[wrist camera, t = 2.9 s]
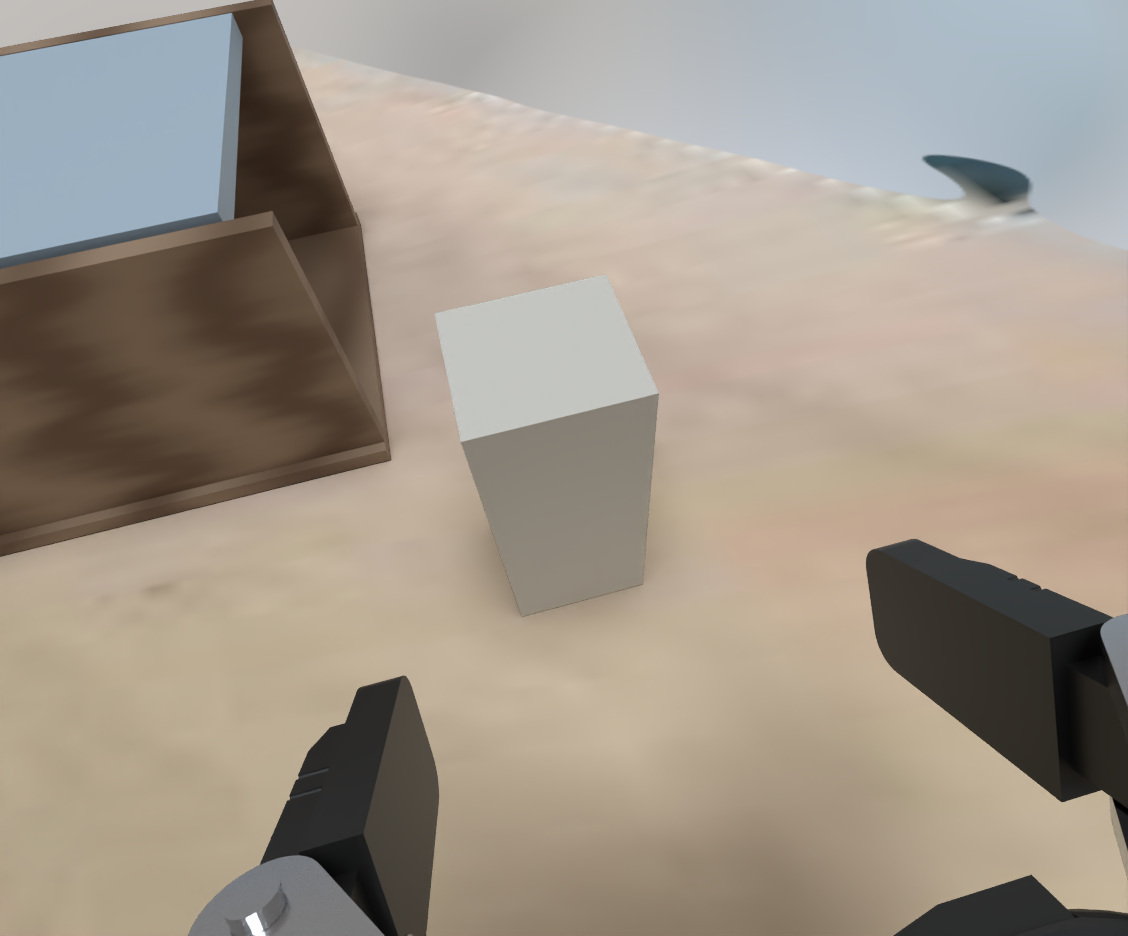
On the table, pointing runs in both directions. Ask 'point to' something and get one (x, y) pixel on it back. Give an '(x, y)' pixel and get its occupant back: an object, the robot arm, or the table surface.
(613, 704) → the table surface
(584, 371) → the grey stone pillar
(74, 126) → the trapdoor
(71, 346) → the trapdoor stand
